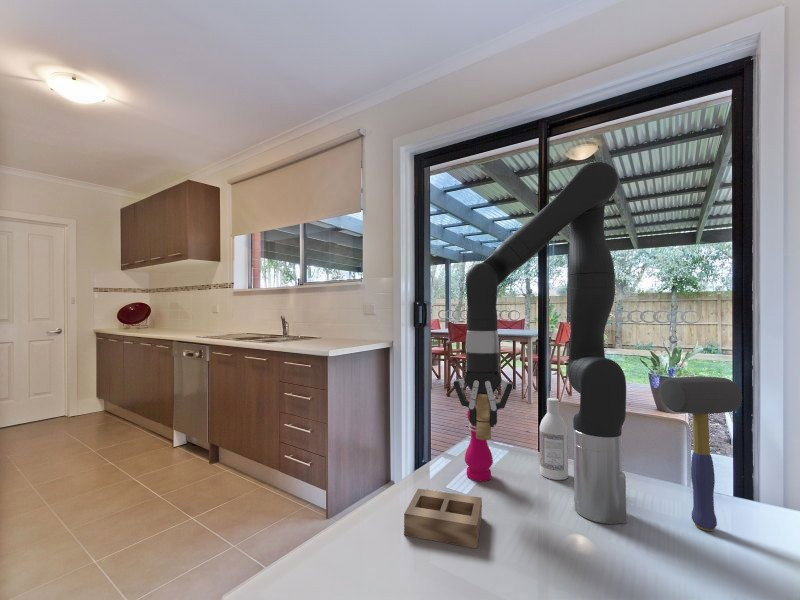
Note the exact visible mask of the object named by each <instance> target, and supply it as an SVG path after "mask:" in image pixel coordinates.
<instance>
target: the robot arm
mask: <svg viewBox="0 0 800 600" xmlns="http://www.w3.org/2000/svg"><path fill="white" fill-rule="evenodd" d="M618 184H619V177H618V173H617V171H616V169H615V168H614V167H613V166H612V165H610V164H608V163H606V162H602V161H594V162H590V163H587V164H585V165H583V166H582V167H580V168H579V169H578V170H577V171H576V172H575V173H574V174H573V175H572V177H571V179H570V181H569V182H568V183H567V184H566V185H565V186H564V187H563V189H561V190H560V192H559V193H557V194H556V196H554V198H553V199H552V200H551V201H550V202H549V203H548V204H547V205H545V206H544V207H543V208H542V209H541V210H540V211H539V212H537V213H535V215H534V216H533V217H531V218H530V219H529V220H528V221H526V222H525V223H523V225H521V226H520V227H518V228H517V230H515V231H514V232H513V233H511V234H510V235H509V236H508V237H507V238H506V239H504V240H503V241H502V242H500V244H499V245H498V246H497V247H496V248H495V250H494V251H493V253H491V254H490V255H489V256H488V257H487V258H486V259H484V260H483V261H482V262H479V263H476V264H473V266H471V267H470V268H469V269H468V270H467V273H466V275H465V288H466V303H467V308H466V309H467V310H466V336H465V349H464V350H465V374H464V377H463V378H460V379H455V380H454V382H453V387H454V389H455V392H456V394H457V397H458V399H459V400H458V401H459V402H460V405H461V406H462V407H467V408H468V409H469V420H468V421H469V423H472V425H473V426H476V408H475V405H476V404H475V403H476V396H477V394H487V395H488V398H489V401H490V406H491V411H490V418H491V428H495V426H496V425H497V423H498V410H501V409H502V410H503V409H504V408H505V407H506V404H507V402H508V399H509V398H510V395H511V392H512V390H513V385H514V384H513V382H511V381H506V380H504V379H502V376H501V374H500V340H499V339H500V338H499V333H498V313H497V311H498V310H497V298H498V286H499V285H501V283H503V282H504V281H505V280H506V279H507V278H508V277H509V276H510V275H511V274H512V273H514V272H515V271H517V270H518V269H520V268H521V267H522V266H523V265H525V264H526V263H527V262H528V261H529V260H530V259H532V258H533V257H534V256H535V255H537V254H538V253H539V252H540V251H541V250H542V249H543V248H544V247H545V246H547V245H548V243H550V242H551V240H552V239H554V238H555V237H556V236H557V235H558V234H559V233H560V232H561V231H562V230H563V229H564V228H565V227H567V226H568V225H569V247H568V248H569V249H568V296H569V297H568V300H569V301H568V302H569V325H570V336H569V337H570V339H569V341H570V342H569V352H568V359H567V361H568V362H567V379H568V382H569V384H570V386H571V387H572V388H573V389H574V391H576V392H577V393H579V394H580V396H579V397H580V398H579V400H580V401H579V410H578V412H577V413H576V414H574V415H573V419H572V421H573V423H572V424H573V425H572V428H573V432H572V434H573V436H572V437H573V438H572V439H573V490H574V491H573V493H574V494H573V496H574V497H573V501H574V504H573V505H574V511H575V512H576V513H577V514H579V515H580V516H581V517H583V518H585V519H587V520H590V521H593V522H595V523H600V524H607V525H608V524H609V525H612V524H619V523H620V524H621V523H623V524H626V523H628V522H627V489H626V488H627V485H626V482H627V481H626V480H627V479H626V474H625V473H624V472H623V442H622V439H623V437H622V427H623V425H624V423H625V420H626V415H627V414H626V413H627V380H626V375H625V372H624V370H623V368H622V366H620V365H619V363H617V362H616V361H615V360H613V359H610V358H606V355H605V354H606V353H605V341H604V340H605V330H606V326H607V322H608V320H609V317H610V314H611V313H612V312H611V311H612V308H613V306H614V302H615V298H616V275H615V272H616V271H615V266H614V265H615V264H614V259H613V257H612V253H611V250H610V248H609V245H608V241H607V239H606V234H605V208H606V203H607V202H608V201H609V200H610V199H611V198H612V196H613V195H614V194H615V192H616V190H617V187H618ZM465 384H466V385H467V387H468V388H469V390H470V391H471V393H470V397H469V398H470V399H469V400H468V399H467V396H466V394H465V391H464V387H465ZM500 385H501V386H502V387H501V389H502V391H503V392H502V393H503V394H502V396H501V398H500V401H498V402H497V400H496V395H495V391H496V390H497V389H498V388H499V386H500Z"/></svg>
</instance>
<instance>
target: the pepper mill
mask: <svg viewBox="0 0 800 600" xmlns="http://www.w3.org/2000/svg"><path fill="white" fill-rule="evenodd" d="M475 408H476V403H475ZM466 416H467V419H468V421H469V408H468V410H467V412H466ZM468 425H469V427H468V428H469V430H470V441H469V443H468V446H467V448H466V451H465V454H464V455H465V456H464V462H465V464H466V465H467V467H466V476H467V478H468V479H469V480H472V481H474V482H487V480H488V481H489V480H491V478H492V470H491V469H490V468H491V467H492V466H493V463H494V460H493V454H492V452H491V449H490V447H489V445H488V440H480V439H477V438H476V426H473V425H472V423H470V422H469V424H468Z"/></svg>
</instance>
